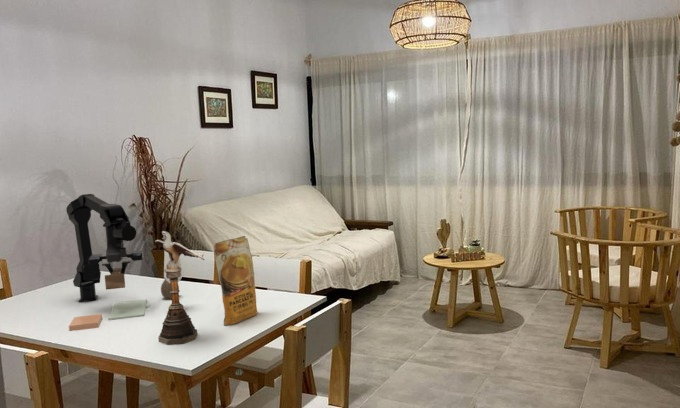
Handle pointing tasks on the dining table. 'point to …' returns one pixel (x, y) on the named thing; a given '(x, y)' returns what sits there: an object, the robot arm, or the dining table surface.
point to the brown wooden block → (115, 279)
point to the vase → (166, 289)
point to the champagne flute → (166, 260)
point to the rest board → (128, 309)
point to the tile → (85, 322)
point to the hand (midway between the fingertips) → (118, 279)
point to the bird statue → (176, 297)
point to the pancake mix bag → (236, 279)
